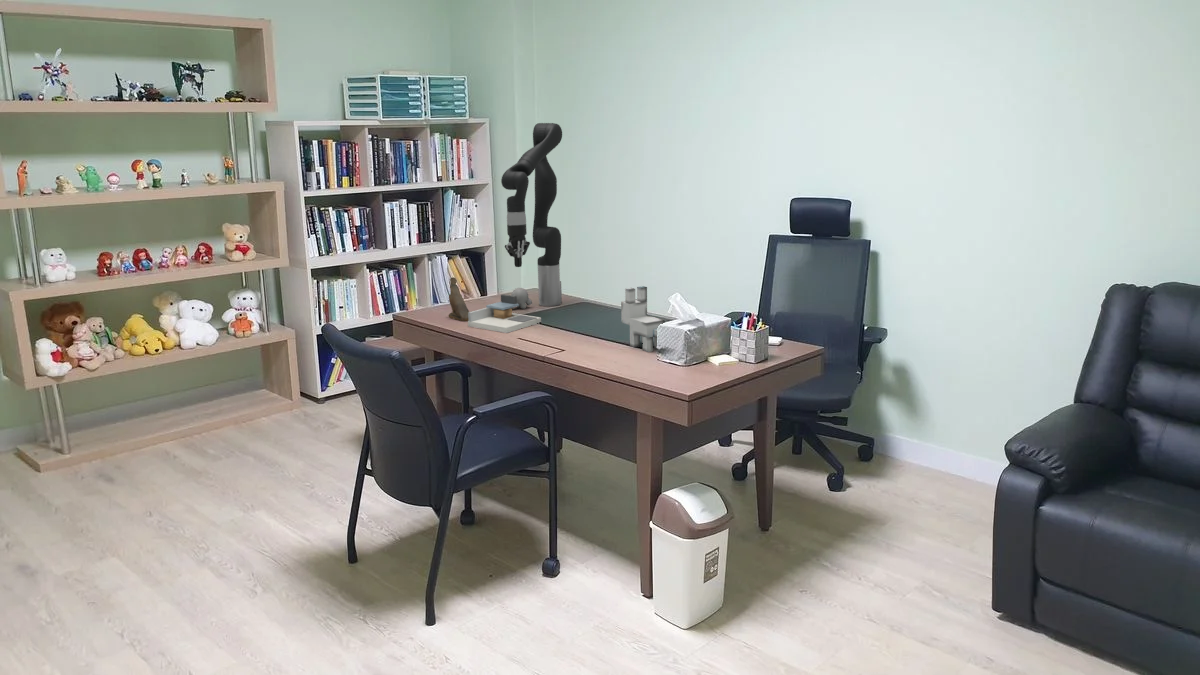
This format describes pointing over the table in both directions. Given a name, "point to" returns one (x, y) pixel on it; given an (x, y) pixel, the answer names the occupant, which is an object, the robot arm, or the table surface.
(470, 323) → the puzzle board
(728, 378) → the table surface
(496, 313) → the wooden block
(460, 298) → the worn brown figurine
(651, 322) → the toy llama
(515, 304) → the sliding lid
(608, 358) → the table surface
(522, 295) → the round bodied animal figurine
